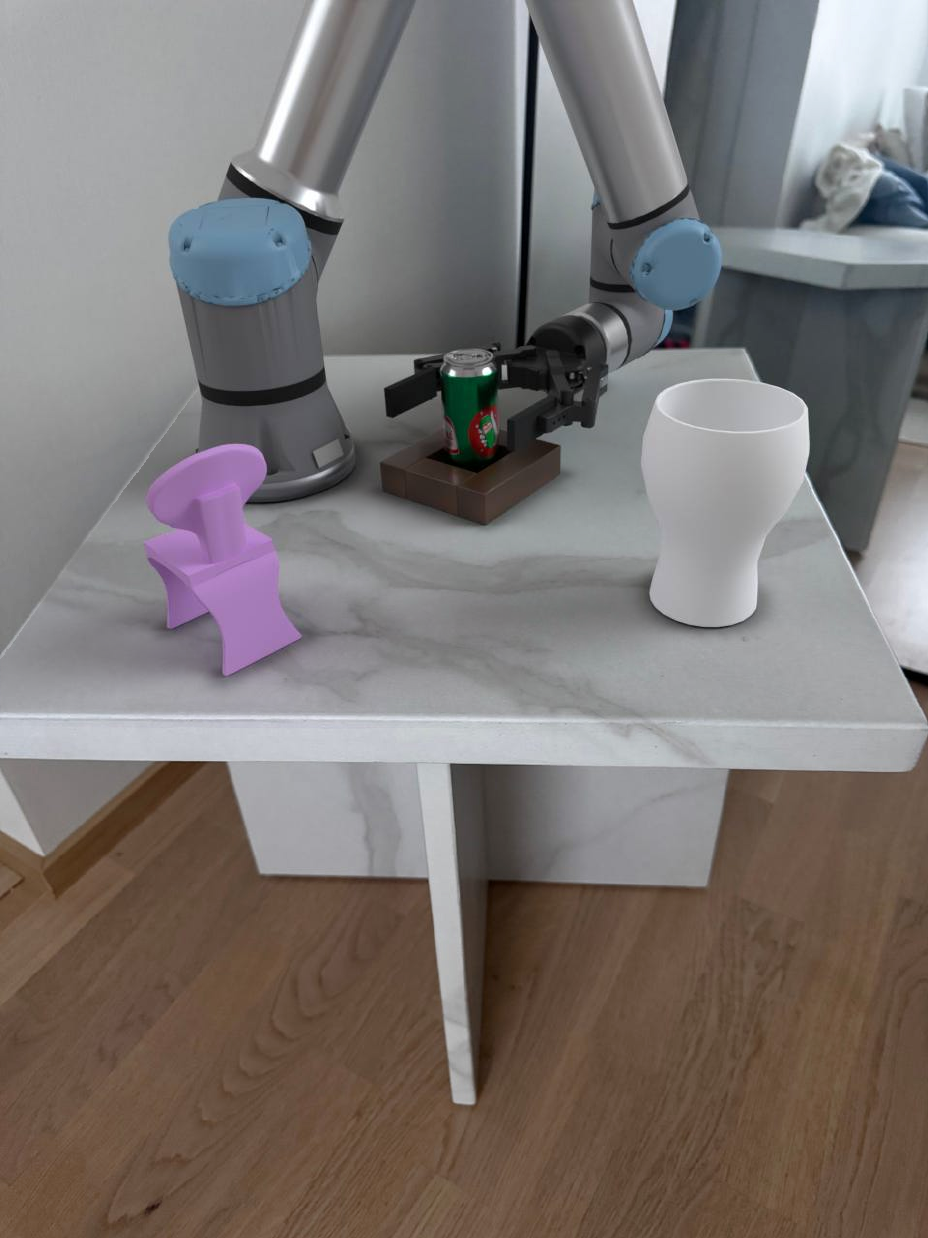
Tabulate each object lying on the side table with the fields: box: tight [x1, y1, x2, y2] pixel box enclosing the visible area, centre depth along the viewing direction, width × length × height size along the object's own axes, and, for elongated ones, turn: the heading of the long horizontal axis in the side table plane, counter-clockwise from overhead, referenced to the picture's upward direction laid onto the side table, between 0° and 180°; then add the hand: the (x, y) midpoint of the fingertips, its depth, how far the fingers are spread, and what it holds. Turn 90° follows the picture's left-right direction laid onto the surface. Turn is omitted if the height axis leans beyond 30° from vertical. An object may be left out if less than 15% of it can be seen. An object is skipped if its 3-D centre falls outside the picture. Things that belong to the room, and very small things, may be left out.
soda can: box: [440, 348, 500, 473], centre depth 78 cm, size 5×5×12 cm
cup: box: [640, 378, 811, 628], centre depth 60 cm, size 11×11×15 cm
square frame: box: [379, 427, 562, 526], centre depth 80 cm, size 12×12×3 cm
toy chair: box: [142, 444, 303, 677], centre depth 59 cm, size 8×9×15 cm
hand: (446, 418), depth 75 cm, fingers open, 13 cm apart
